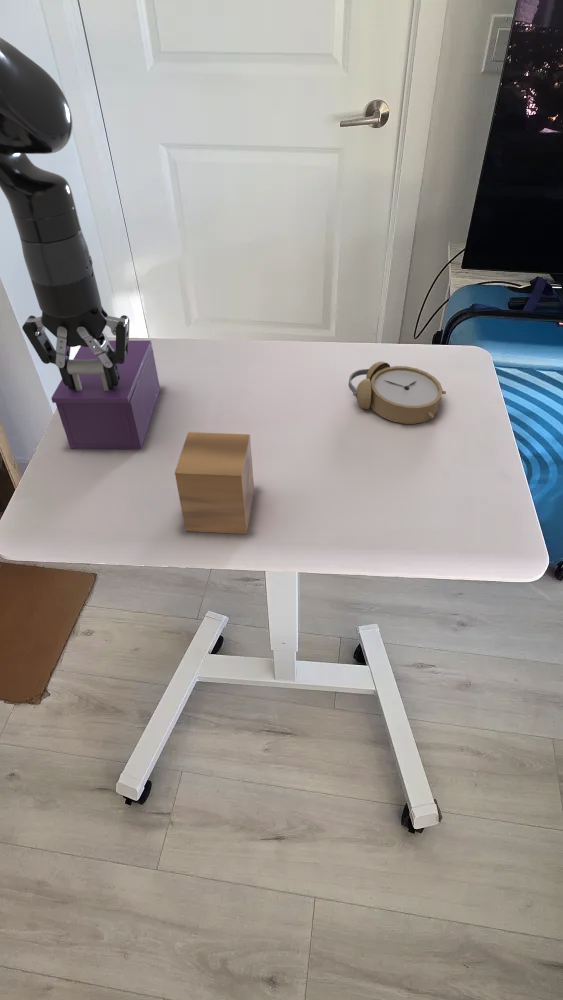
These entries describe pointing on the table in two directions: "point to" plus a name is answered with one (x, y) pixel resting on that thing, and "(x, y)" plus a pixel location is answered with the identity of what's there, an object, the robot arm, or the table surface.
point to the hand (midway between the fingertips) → (93, 386)
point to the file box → (113, 416)
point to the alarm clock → (398, 392)
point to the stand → (216, 482)
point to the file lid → (102, 376)
